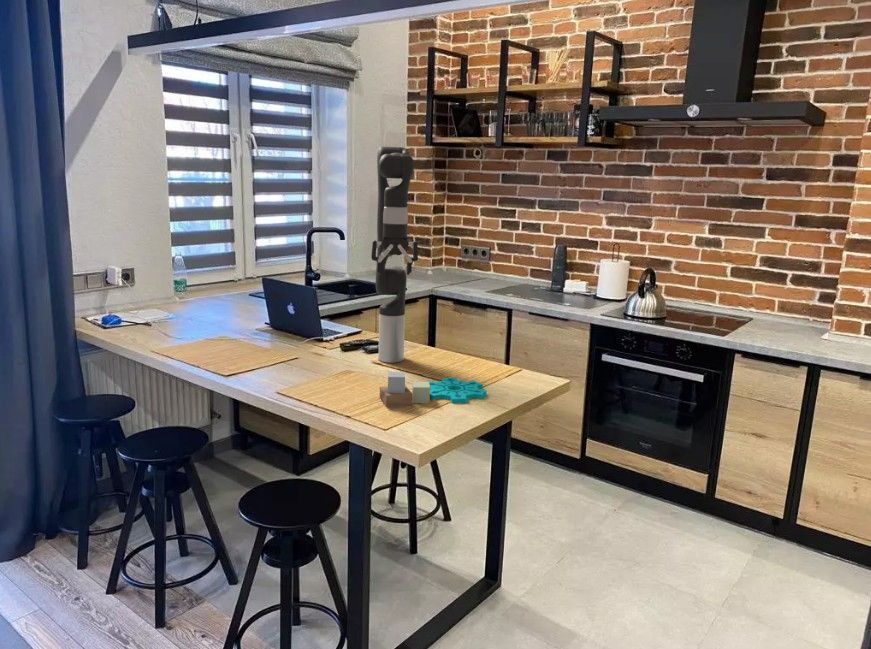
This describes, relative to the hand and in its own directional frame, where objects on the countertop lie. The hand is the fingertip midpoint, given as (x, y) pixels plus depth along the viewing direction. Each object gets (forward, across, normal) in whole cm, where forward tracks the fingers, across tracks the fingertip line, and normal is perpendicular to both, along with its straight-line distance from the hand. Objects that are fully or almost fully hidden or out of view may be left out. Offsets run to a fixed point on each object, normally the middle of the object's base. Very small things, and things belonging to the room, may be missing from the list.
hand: (394, 274), depth 204 cm
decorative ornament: (+37, -19, +8) cm, 42 cm away
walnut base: (+36, 0, +16) cm, 40 cm away
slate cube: (+32, 0, +16) cm, 36 cm away
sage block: (+34, -10, +15) cm, 38 cm away
